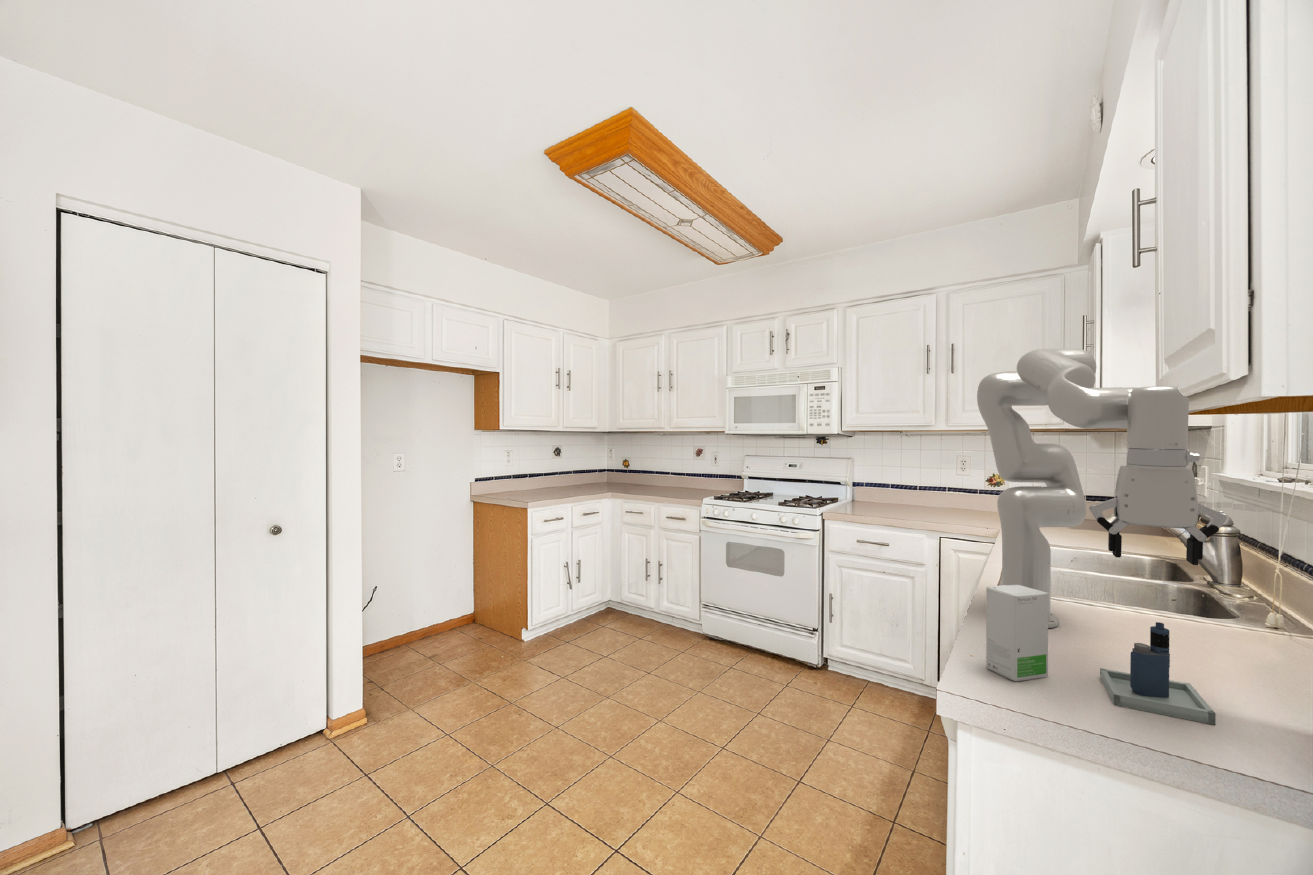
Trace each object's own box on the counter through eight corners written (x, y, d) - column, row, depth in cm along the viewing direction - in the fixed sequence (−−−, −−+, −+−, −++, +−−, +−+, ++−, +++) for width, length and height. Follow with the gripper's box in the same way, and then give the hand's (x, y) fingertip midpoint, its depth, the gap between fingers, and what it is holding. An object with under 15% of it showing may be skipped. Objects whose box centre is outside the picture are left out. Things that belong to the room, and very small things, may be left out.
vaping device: (1173, 698, 88) (1174, 626, 88) (1137, 696, 89) (1137, 624, 89) (1162, 691, 91) (1162, 621, 91) (1126, 688, 92) (1127, 619, 92)
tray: (1100, 677, 97) (1100, 668, 97) (1190, 694, 91) (1190, 683, 91) (1113, 704, 88) (1114, 694, 88) (1215, 724, 82) (1215, 713, 82)
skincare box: (1014, 682, 96) (1014, 596, 96) (982, 667, 102) (983, 585, 102) (1050, 676, 98) (1050, 592, 98) (1017, 661, 104) (1017, 582, 104)
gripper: (1219, 459, 89) (1216, 561, 90) (1087, 456, 98) (1085, 548, 99) (1237, 463, 83) (1233, 572, 84) (1094, 459, 92) (1092, 557, 93)
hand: (1153, 559), depth 91 cm, fingers open, 9 cm apart
